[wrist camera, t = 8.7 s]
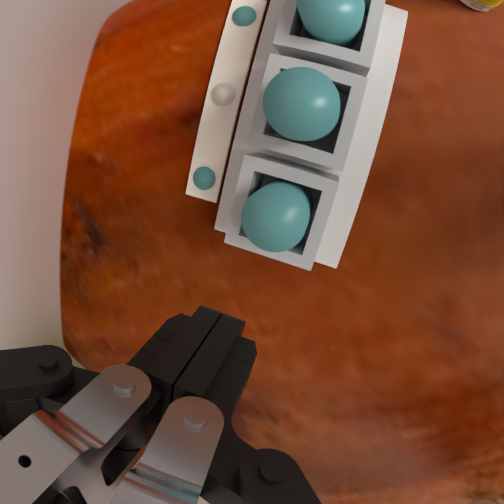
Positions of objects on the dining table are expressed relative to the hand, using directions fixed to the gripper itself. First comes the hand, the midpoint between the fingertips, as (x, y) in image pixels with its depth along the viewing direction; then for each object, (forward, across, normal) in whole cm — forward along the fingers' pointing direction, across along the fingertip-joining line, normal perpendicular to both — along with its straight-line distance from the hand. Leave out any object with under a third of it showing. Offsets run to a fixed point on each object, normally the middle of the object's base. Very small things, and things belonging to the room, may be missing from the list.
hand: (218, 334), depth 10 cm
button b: (+17, +1, -8) cm, 19 cm away
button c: (+19, +1, 0) cm, 19 cm away
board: (+20, +1, -8) cm, 22 cm away
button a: (+19, +1, -16) cm, 25 cm away
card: (+20, +9, -8) cm, 23 cm away
